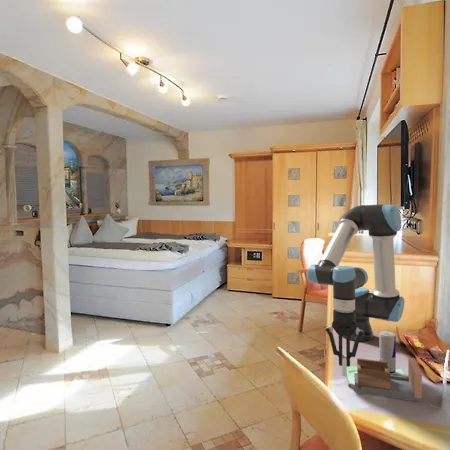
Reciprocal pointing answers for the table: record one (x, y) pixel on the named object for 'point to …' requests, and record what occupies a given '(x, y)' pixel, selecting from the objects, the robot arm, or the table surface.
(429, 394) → the table surface
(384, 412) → the table surface
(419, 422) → the table surface
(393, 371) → the beverage can
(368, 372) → the open wooden box
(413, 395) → the board
